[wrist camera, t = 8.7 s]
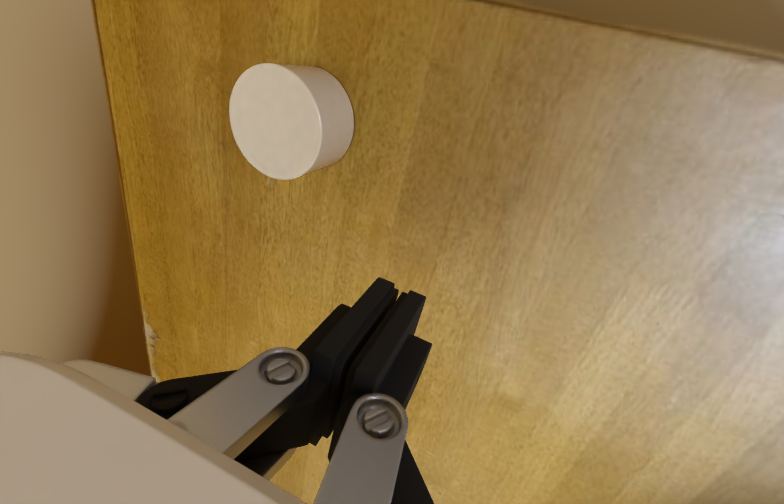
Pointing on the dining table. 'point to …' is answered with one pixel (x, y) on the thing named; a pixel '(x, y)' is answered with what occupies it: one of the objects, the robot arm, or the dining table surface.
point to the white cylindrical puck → (290, 119)
